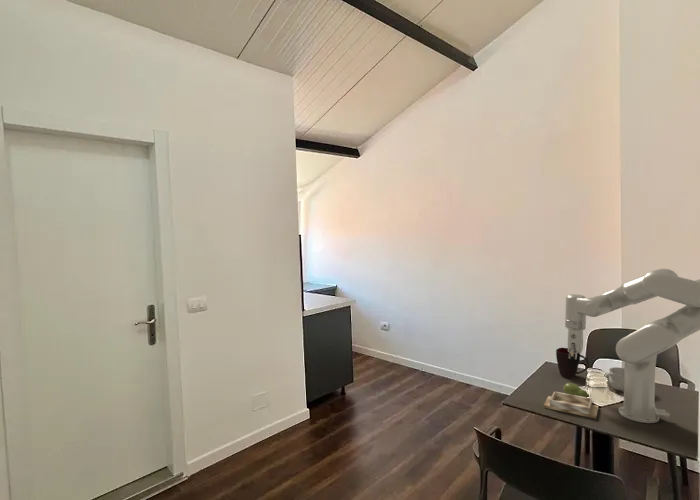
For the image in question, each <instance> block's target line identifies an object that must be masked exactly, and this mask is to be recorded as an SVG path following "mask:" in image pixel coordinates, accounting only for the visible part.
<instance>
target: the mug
mask: <svg viewBox="0 0 700 500" xmlns="http://www.w3.org/2000/svg"><path fill="white" fill-rule="evenodd" d="M555 357H556V363H557V368H558V371H559V375H560V376H561V377H563V378H569V379H573V378H575V377H576V375H578V374H581V373H584V372H585V371H587V370H588V368H589V367H590V361H589V359H588V358H587V356H584V355H583V354H580V358H583V360H585V361H586V364H587V365H586V368H584V369H583V370H580V371H579V372H578V368H579V364H580V362H577V369H575V368H569V367H568V358H569V352H568V347H559V348H557V349H555Z"/></svg>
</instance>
